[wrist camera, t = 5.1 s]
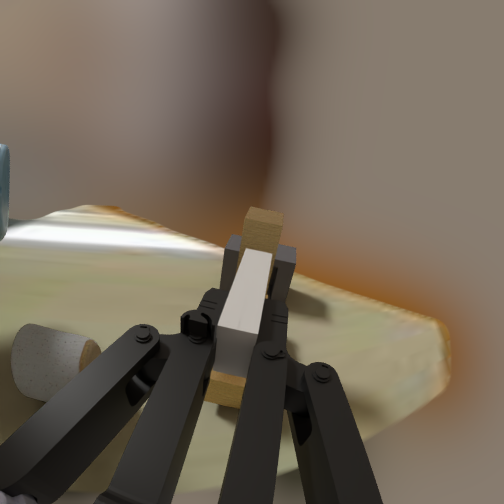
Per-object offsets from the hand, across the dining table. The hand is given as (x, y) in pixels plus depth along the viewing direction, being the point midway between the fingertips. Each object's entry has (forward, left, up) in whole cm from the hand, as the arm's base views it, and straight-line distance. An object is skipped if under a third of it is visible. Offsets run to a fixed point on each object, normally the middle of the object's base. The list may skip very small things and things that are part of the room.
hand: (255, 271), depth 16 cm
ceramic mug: (-17, -2, -17) cm, 24 cm away
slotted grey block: (0, +23, -17) cm, 28 cm away
